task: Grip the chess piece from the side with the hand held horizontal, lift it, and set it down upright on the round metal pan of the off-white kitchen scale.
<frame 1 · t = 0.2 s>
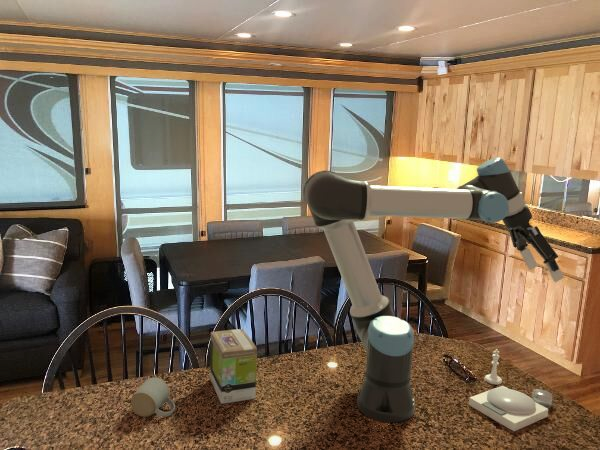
hand: (545, 273, 143), 34 cm above the counter, tool tilted 30°, fingers open, 13 cm apart
ceramic mug: (155, 411, 128), on the counter
chess piece: (493, 381, 150), on the counter
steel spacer: (541, 403, 138), on the counter
tea box: (232, 389, 140), on the counter
scale: (507, 410, 134), on the counter
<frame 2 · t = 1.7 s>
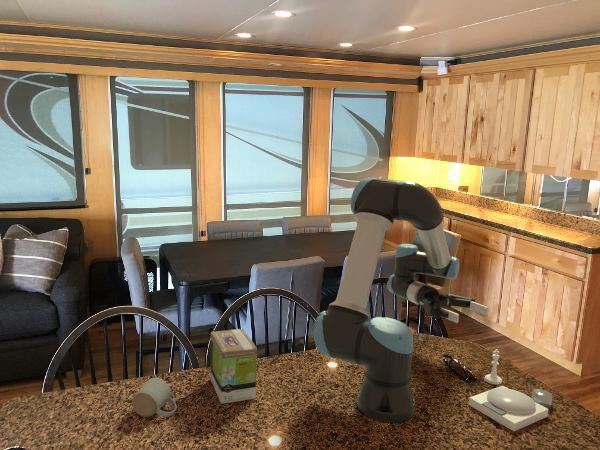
hand: (473, 315, 155), 17 cm above the counter, tool horizontal, fingers open, 13 cm apart
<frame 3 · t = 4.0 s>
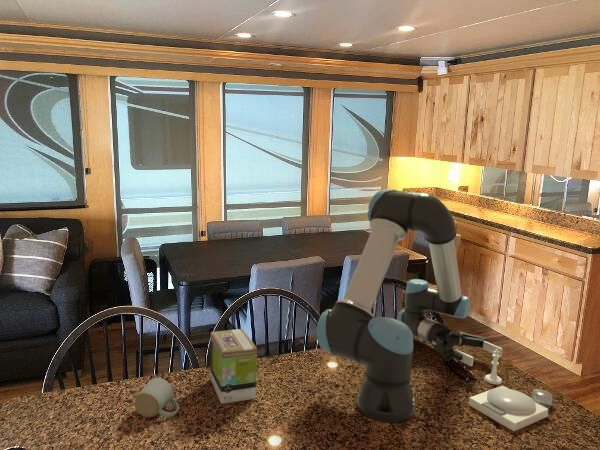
hand: (487, 357, 153), 6 cm above the counter, tool horizontal, fingers open, 13 cm apart
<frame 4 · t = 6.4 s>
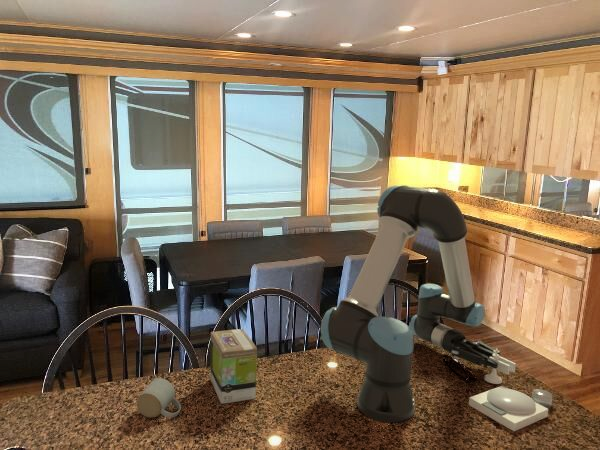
hand: (511, 369, 145), 6 cm above the counter, tool horizontal, fingers closed on chess piece, 2 cm apart
chess piece: (493, 380, 150), on the counter, touching gripper
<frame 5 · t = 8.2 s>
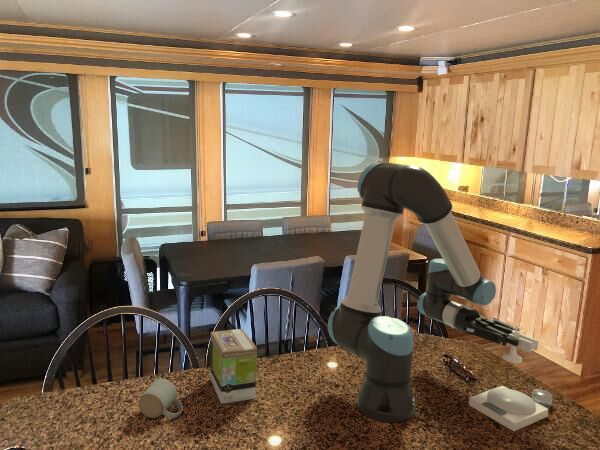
hand: (533, 346, 132), 18 cm above the counter, tool horizontal, fingers closed on chess piece, 2 cm apart
chess piece: (512, 360, 138), point 12 cm above the counter, touching gripper
when the fingers open (11 cm above the counter, at t = 10.1 s): chess piece drops 2 cm, resting on scale.
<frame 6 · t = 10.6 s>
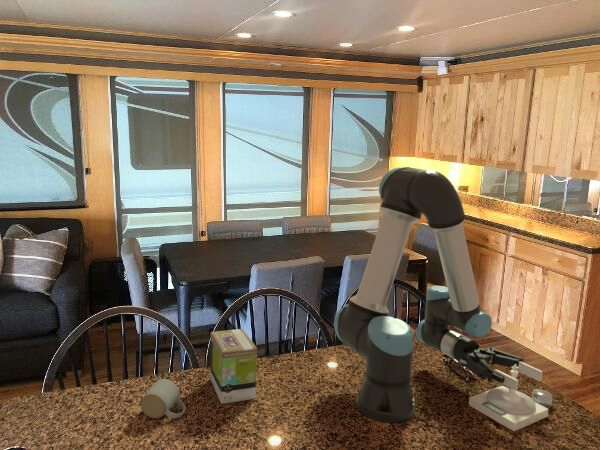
hand: (529, 380, 129), 10 cm above the counter, tool horizontal, fingers open, 9 cm apart
chess piece: (510, 400, 134), point 3 cm above the counter, touching scale
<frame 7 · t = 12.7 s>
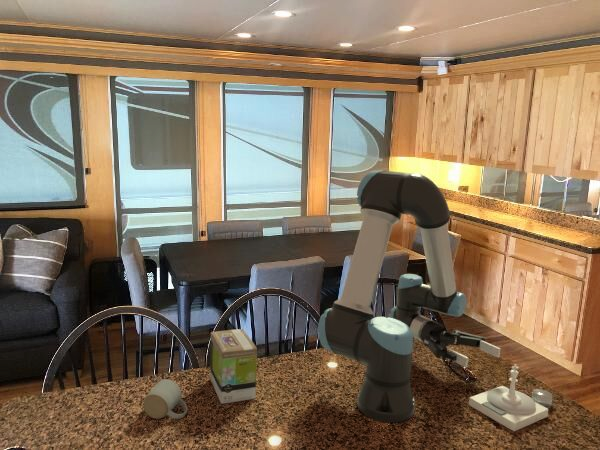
hand: (483, 357, 141), 11 cm above the counter, tool horizontal, fingers open, 13 cm apart
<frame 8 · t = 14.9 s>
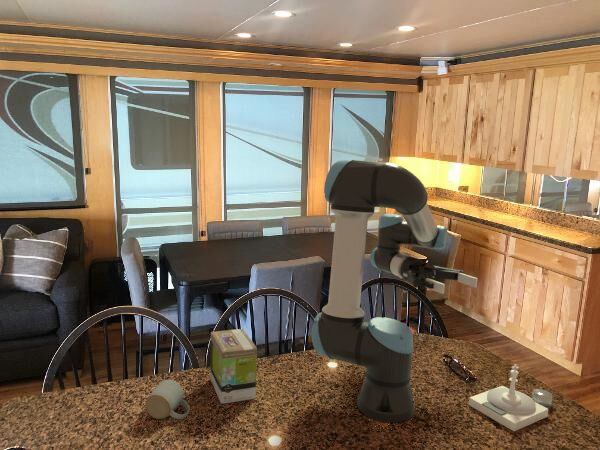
hand: (460, 285, 142), 30 cm above the counter, tool horizontal, fingers open, 13 cm apart
at the end: chess piece inside the target area on the scale (0.0 cm from its centre), point 2.8 cm above the scale's base; chess piece tilted 0°; the gripper is holding nothing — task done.
